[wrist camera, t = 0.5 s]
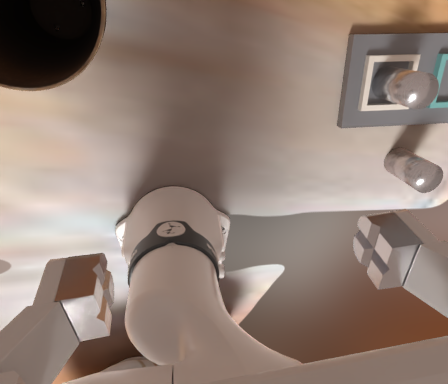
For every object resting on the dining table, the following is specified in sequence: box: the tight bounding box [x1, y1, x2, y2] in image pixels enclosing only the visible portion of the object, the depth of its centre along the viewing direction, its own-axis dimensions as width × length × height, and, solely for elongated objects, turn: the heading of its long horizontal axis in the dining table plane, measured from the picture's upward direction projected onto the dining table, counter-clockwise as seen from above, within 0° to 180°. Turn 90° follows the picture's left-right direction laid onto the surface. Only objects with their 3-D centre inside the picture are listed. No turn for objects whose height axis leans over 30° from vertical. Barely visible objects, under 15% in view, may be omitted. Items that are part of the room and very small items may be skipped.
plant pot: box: [0, 0, 106, 91], centre depth 35 cm, size 15×15×16 cm
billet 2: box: [384, 148, 443, 193], centre depth 54 cm, size 4×4×8 cm
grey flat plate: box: [337, 33, 448, 128], centre depth 51 cm, size 13×23×2 cm, turn 91°
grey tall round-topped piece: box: [372, 66, 439, 110], centre depth 47 cm, size 4×4×8 cm
